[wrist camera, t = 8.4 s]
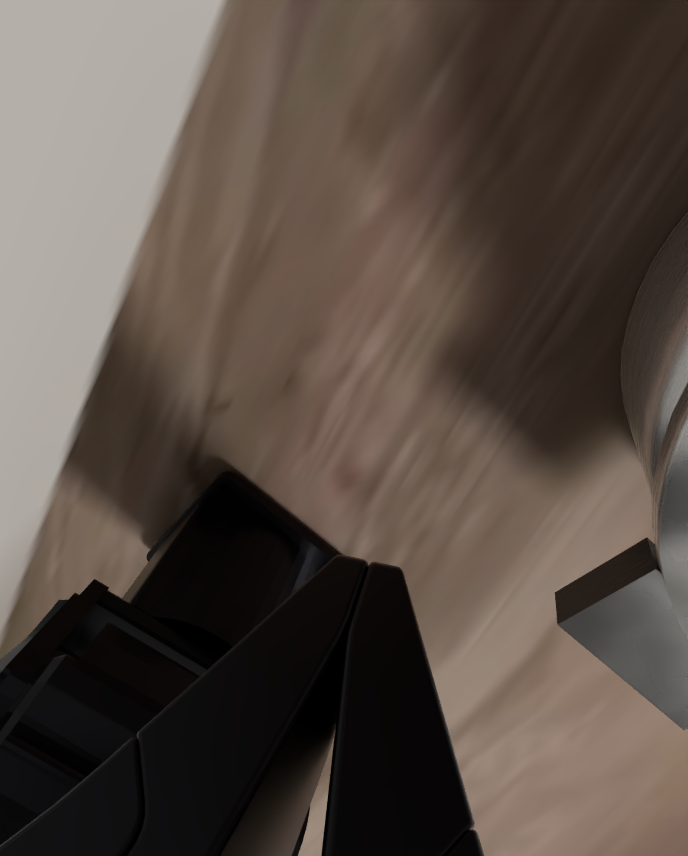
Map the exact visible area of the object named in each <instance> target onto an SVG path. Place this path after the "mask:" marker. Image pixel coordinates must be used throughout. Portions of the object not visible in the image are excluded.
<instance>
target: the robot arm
mask: <svg viewBox="0 0 688 856" xmlns="http://www.w3.org/2000/svg"><path fill="white" fill-rule="evenodd" d="M224 483H228V484H229V485H230V486H231V487H232V488H229V487H227V486H226V485H225V484H224ZM147 560H148V564H147V565H146V566H145V568H144V569H143V570H142V572H141V573H140V575H139V576H138V577H137V579H136V580H135V581H134V583H133V584H132V586H131V587H130V588H129V590H128V591H127V592H126V594H125V595H124V597H123V598H122V599H121V598H120V597H118V596H116V595H115V594H113V593H111V592H110V591H108V588H109V587H107V586H105V585H104V584H102V583H100V582H99V581H97V580H95V579H94V580H93V581H92V582H91V583H90V584H89V585H88V587H87V588H86V589H85V590H84V591H83V592H82V593H81V594H80V595H78V594H77V593H74V594H73V595H72V596H71V598H70V599H69V600H59V601H58V602H57V603H56V604H55V605H54V607H53V608H52V609H51V610H50V611H49V613H48V614H47V615H46V616H45V617H44V619H43V620H42V621H41V622H40V623H39V624H38V626H37V627H36V628H35V629H34V630H33V631H32V632H31V633H30V634H29V636H28V637H27V638H26V639H24V640H23V641H22V642H21V643H20V644H19V645H18V646H16V647H15V648H14V649H13V650H12V651H10V652H9V653H8V654H7V655H5V656H4V657H3V658H2V659H1V660H0V856H298V853H299V850H300V847H301V845H302V842H303V838H304V834H305V831H306V827H307V822H308V816H309V810H310V803H311V801H312V798H313V795H314V792H315V790H316V787H317V784H318V781H319V778H320V776H321V773H322V770H323V767H324V765H325V762H326V759H327V756H328V753H329V750H330V747H331V744H332V741H333V738H334V747H333V756H332V765H331V774H330V783H329V792H328V801H327V810H326V819H325V828H324V838H323V847H322V856H484V854H483V850H482V847H481V843H480V840H479V836H478V833H477V832H476V831H475V830H473V828H474V820H473V816H472V813H471V809H470V806H469V802H468V799H467V795H466V792H465V788H464V785H463V781H462V778H461V774H460V771H459V767H458V764H457V760H456V757H455V753H454V749H453V746H452V742H451V739H450V735H449V732H448V728H447V725H446V721H445V718H444V714H443V711H442V707H441V704H440V700H439V697H438V693H437V690H436V686H435V683H434V679H433V675H432V672H431V668H430V665H429V661H428V658H427V654H426V651H425V647H424V644H423V640H422V637H421V633H420V630H419V626H418V623H417V619H416V616H415V612H414V609H413V605H412V601H411V598H410V594H409V591H408V587H407V584H406V580H405V577H404V573H403V571H402V569H400V568H399V567H397V566H392V565H387V564H383V563H378V562H372V563H370V565H369V566H368V563H367V562H366V561H365V560H363V559H359V558H354V557H350V556H345V555H336V554H335V553H334V552H333V551H331V550H330V549H329V548H328V547H326V546H325V545H324V544H323V543H321V542H320V541H319V540H318V539H316V538H315V537H314V536H312V535H311V534H310V533H309V532H307V531H306V530H305V529H304V528H302V527H301V526H300V525H299V524H297V523H296V522H295V521H294V520H292V519H291V518H290V517H289V516H287V515H286V514H285V513H284V512H282V511H281V510H280V509H279V508H277V507H276V506H275V505H274V504H272V503H271V502H270V501H269V500H267V499H266V498H265V497H264V496H262V495H261V494H260V493H258V492H257V491H256V490H255V489H253V488H252V487H251V486H250V485H248V484H247V483H246V482H245V481H243V480H242V479H241V478H240V477H238V476H237V475H236V474H234V473H232V472H228V471H226V472H222V473H221V474H219V475H218V476H217V477H216V478H215V480H214V481H213V482H212V483H211V484H210V485H209V486H208V487H207V488H206V489H205V490H204V491H203V493H202V494H201V495H200V496H199V497H198V498H197V499H196V500H195V501H194V502H193V503H192V505H191V506H190V507H189V508H188V509H187V510H186V511H185V512H184V513H183V514H182V515H181V517H180V518H179V519H178V520H177V521H176V522H175V523H174V524H173V525H172V526H171V527H170V528H169V530H168V531H167V532H166V533H165V534H164V535H163V536H162V537H161V538H160V539H159V540H158V542H157V543H156V544H155V545H154V546H153V547H152V548H151V550H150V551H149V552H148V554H147ZM334 734H335V737H334Z"/></svg>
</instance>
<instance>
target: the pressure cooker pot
mask: <svg viewBox="0 0 688 856" xmlns="http://www.w3.org/2000/svg"><path fill="white" fill-rule="evenodd" d="M620 380H621V389H622V397H623V405H624V409H625V412H626V416H627V419H628V423H629V426H630V430H631V433H632V436H633V439H634V442H635V445H636V448H637V451H638V455H639V458H640V461H641V464H642V467H643V470H644V473H645V476H646V479H647V482H648V485H649V488H650V492H651V495H652V488H653V482H654V476H655V471H656V465H657V459H658V453H659V450H660V447H661V444H662V441H663V438H664V435H665V433H666V430H667V427H668V424H669V421H670V418H671V415H672V412H673V410H674V408H675V406H676V404H677V402H678V400H679V398H680V396H681V394H682V393H683V391H684V389H685V387H686V385H687V383H688V211H687V212H686V214H685V215H684V216H683V217H682V218H681V220H680V221H679V222H678V223H677V224H676V226H675V227H674V228H673V230H672V231H671V233H670V234H669V236H668V237H667V239H666V240H665V242H664V243H663V245H662V246H661V248H660V249H659V251H658V252H657V254H656V255H655V257H654V259H653V260H652V262H651V264H650V266H649V268H648V270H647V272H646V274H645V276H644V278H643V281H642V283H641V285H640V287H639V289H638V291H637V294H636V297H635V299H634V302H633V305H632V308H631V311H630V314H629V317H628V320H627V324H626V330H625V335H624V340H623V345H622V350H621V373H620ZM555 600H556V612H557V624H558V625H559V626H560V627H561V628H562V629H563V630H565V631H566V632H567V633H568V634H569V635H571V636H572V637H573V638H574V639H575V640H577V641H578V642H579V643H580V644H581V645H583V646H584V647H585V648H586V649H587V650H589V651H590V652H591V653H592V654H593V655H595V656H596V657H597V658H598V659H599V660H600V661H602V662H603V663H604V664H605V665H606V666H608V667H609V668H610V669H611V670H612V671H614V672H615V673H616V674H617V675H618V676H620V677H621V678H622V679H623V680H624V681H626V682H627V683H628V684H629V685H630V686H632V687H633V688H634V689H635V690H636V691H638V692H639V693H640V694H641V695H642V696H644V697H645V698H646V699H647V700H648V701H650V702H651V703H652V704H653V705H654V706H656V707H657V708H658V709H659V710H660V711H662V712H663V713H664V714H665V715H666V716H667V717H669V718H670V719H671V720H672V721H673V722H675V723H676V724H677V725H678V726H679V727H681V728H682V729H683V730H685V729H688V639H687V637H686V636H685V634H684V632H683V631H682V629H681V627H680V626H679V623H678V620H677V618H676V615H675V612H674V610H673V607H672V604H671V602H670V599H669V596H668V594H667V591H666V587H665V584H664V580H663V577H662V574H661V570H660V567H659V563H658V559H657V553H656V548H655V544H654V543H653V542H652V541H650V540H649V539H648V538H645V539H644V540H642V541H640V542H639V543H637V544H635V545H634V546H632V547H630V548H629V549H627V550H625V551H624V552H622V553H620V554H619V555H617V556H615V557H614V558H612V559H610V560H609V561H607V562H605V563H604V564H602V565H600V566H599V567H597V568H595V569H594V570H592V571H590V572H589V573H587V574H585V575H584V576H582V577H580V578H579V579H577V580H575V581H573V582H572V583H570V584H568V585H567V586H565V587H563V588H562V589H560V590H558V591H557V592H555Z"/></svg>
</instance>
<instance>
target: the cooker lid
mask: <svg viewBox="0 0 688 856" xmlns="http://www.w3.org/2000/svg"><path fill="white" fill-rule="evenodd" d="M652 531H653V537H654V542H655V548H656V553H657V559H658V563H659V567H660V570H661V574H662V577H663V580H664V584H665V587H666V591H667V594H668V596H669V599H670V602H671V604H672V607H673V610H674V612H675V615H676V618H677V620H678V623H679V626H680V627H681V629H682V631H683V632H684V634H685V636H686V637H687V639H688V383H687V385H686V387H685V389H684V391H683V393H682V394H681V396H680V398H679V400H678V402H677V404H676V406H675V408H674V410H673V412H672V415H671V418H670V421H669V424H668V427H667V430H666V433H665V435H664V438H663V441H662V444H661V447H660V450H659V453H658V459H657V465H656V471H655V476H654V482H653V488H652Z"/></svg>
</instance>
